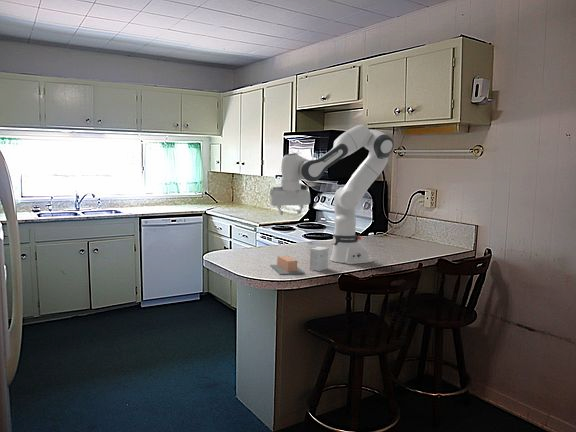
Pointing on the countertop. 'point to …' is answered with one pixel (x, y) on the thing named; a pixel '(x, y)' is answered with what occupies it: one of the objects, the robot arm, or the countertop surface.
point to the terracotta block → (287, 263)
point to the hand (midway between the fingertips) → (290, 214)
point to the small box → (319, 258)
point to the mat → (283, 272)
